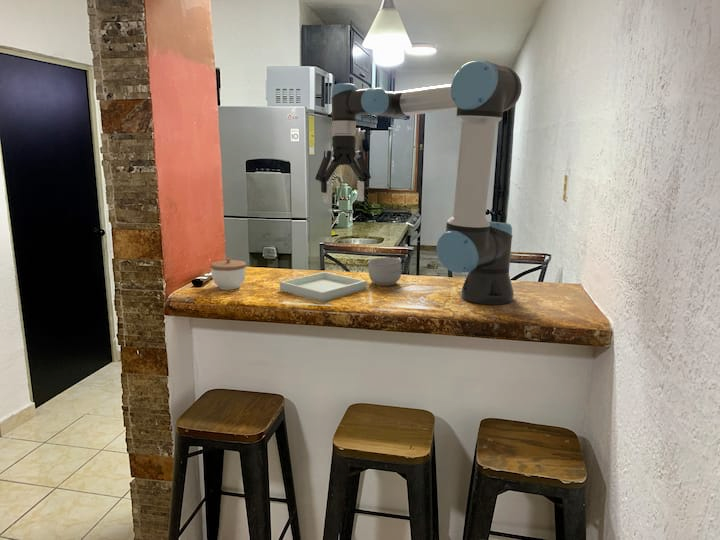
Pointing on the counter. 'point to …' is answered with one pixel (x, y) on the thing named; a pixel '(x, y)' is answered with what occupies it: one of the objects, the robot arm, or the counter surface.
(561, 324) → the counter surface
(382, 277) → the teacup
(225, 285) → the lidded jar
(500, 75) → the robot arm
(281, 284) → the tray
